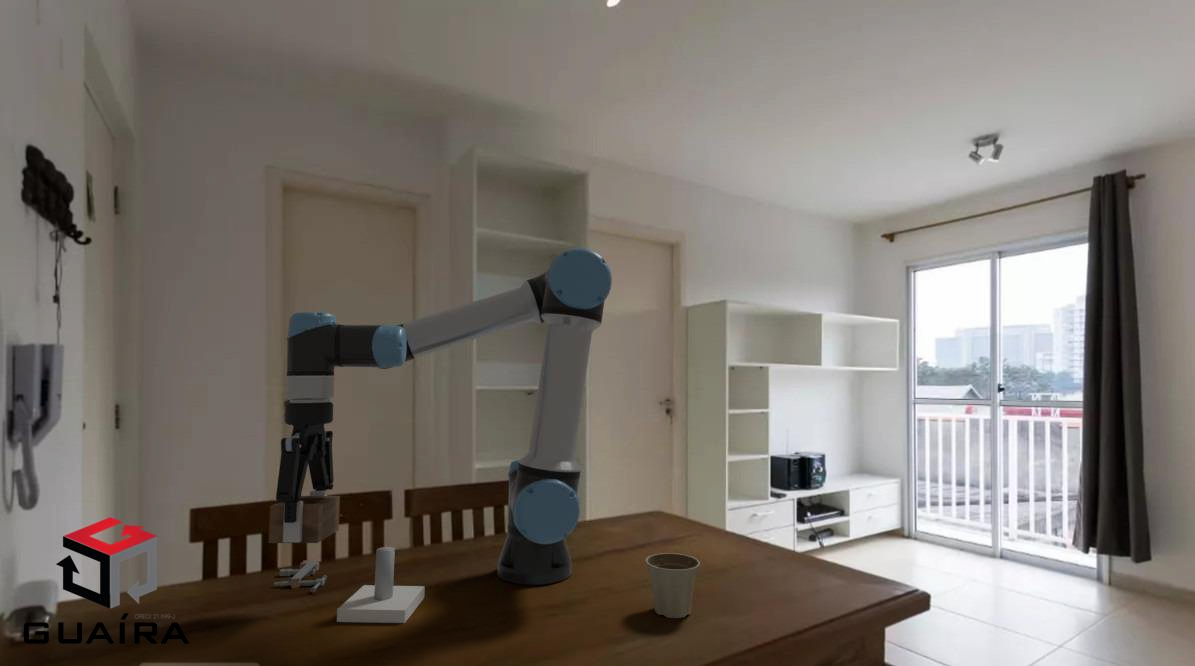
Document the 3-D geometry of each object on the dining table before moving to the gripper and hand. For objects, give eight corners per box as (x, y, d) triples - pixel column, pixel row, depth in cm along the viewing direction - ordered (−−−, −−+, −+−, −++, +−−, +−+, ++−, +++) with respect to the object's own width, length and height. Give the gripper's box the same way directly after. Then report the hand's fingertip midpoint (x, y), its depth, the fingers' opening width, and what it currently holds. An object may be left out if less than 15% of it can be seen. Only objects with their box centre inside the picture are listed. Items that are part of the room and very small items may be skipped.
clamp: (288, 560, 120) (339, 558, 121) (287, 571, 120) (339, 569, 121) (257, 586, 105) (317, 584, 107) (257, 599, 105) (316, 596, 106)
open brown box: (338, 530, 104) (339, 496, 104) (317, 543, 96) (318, 505, 97) (293, 530, 104) (294, 496, 104) (268, 543, 96) (270, 505, 96)
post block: (424, 597, 106) (426, 541, 106) (404, 623, 95) (407, 559, 95) (363, 596, 106) (366, 539, 106) (336, 621, 95) (339, 558, 95)
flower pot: (664, 627, 95) (665, 572, 96) (634, 606, 103) (635, 556, 104) (711, 617, 99) (711, 565, 100) (678, 598, 108) (678, 550, 108)
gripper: (316, 398, 112) (312, 519, 110) (253, 403, 91) (247, 553, 90) (355, 398, 112) (352, 519, 110) (301, 403, 91) (296, 552, 90)
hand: (305, 534), depth 100 cm, fingers closed on open brown box, 8 cm apart
